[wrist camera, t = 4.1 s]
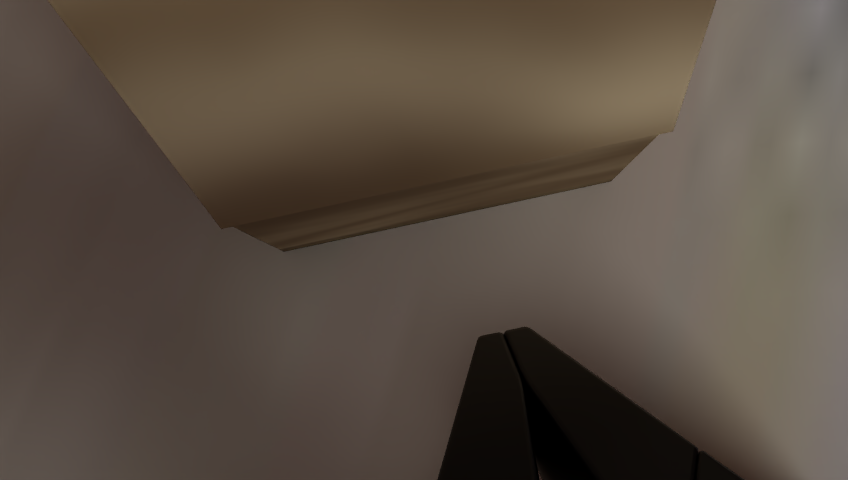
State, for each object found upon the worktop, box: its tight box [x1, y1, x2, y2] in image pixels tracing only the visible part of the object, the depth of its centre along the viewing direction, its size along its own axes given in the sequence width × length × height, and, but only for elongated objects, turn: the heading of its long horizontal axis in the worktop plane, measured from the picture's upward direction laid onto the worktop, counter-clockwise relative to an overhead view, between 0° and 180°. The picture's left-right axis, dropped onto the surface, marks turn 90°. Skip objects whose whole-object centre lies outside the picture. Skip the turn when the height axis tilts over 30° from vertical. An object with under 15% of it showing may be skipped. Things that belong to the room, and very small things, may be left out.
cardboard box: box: [233, 134, 659, 251], centre depth 21 cm, size 12×14×6 cm
